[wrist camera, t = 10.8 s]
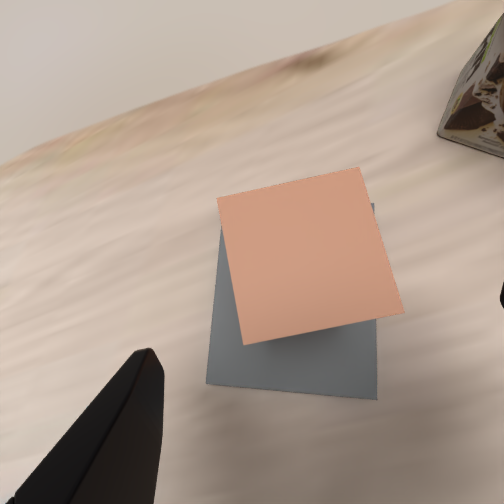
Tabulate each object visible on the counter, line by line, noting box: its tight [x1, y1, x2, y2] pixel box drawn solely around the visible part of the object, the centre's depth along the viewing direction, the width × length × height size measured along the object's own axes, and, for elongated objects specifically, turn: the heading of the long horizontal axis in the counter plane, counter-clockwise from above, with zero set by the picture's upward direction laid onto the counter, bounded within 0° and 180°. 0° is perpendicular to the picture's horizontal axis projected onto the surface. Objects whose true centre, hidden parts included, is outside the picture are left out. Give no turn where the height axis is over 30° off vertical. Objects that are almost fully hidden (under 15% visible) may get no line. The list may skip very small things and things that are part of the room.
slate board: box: [206, 203, 377, 400], centre depth 21 cm, size 12×10×1 cm
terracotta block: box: [217, 167, 405, 345], centre depth 15 cm, size 5×5×10 cm
